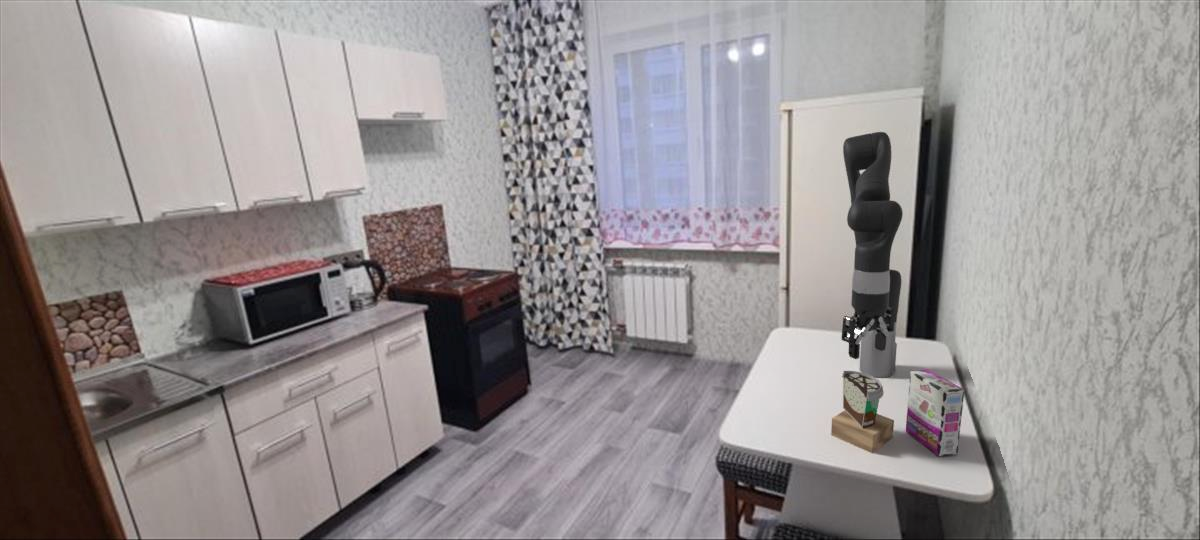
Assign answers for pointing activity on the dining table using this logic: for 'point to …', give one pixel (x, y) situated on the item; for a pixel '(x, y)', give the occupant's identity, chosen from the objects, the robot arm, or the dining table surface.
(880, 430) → the oak block
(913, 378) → the candy bar box
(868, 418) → the food container
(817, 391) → the dining table surface
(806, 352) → the dining table surface
